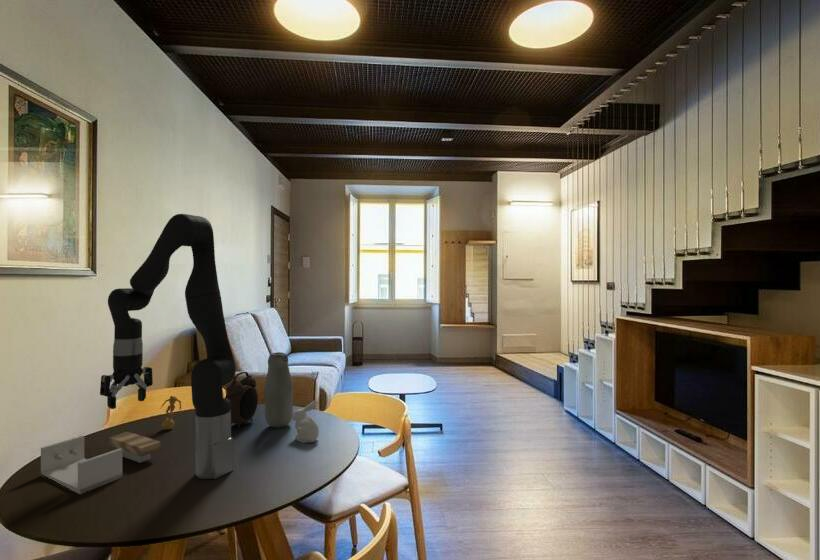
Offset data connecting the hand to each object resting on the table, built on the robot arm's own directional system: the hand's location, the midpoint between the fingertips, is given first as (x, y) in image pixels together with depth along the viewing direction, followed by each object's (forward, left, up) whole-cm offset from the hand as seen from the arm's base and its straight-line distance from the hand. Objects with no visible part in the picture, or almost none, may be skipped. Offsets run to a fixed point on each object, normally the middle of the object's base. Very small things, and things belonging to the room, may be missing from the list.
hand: (127, 404), depth 124 cm
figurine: (+14, -22, -17) cm, 31 cm away
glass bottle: (-21, -42, -17) cm, 50 cm away
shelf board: (0, -2, -14) cm, 14 cm away
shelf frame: (0, +12, -17) cm, 21 cm away
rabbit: (-38, -38, -17) cm, 56 cm away
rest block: (0, -2, -17) cm, 17 cm away
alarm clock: (-7, -37, -17) cm, 41 cm away
